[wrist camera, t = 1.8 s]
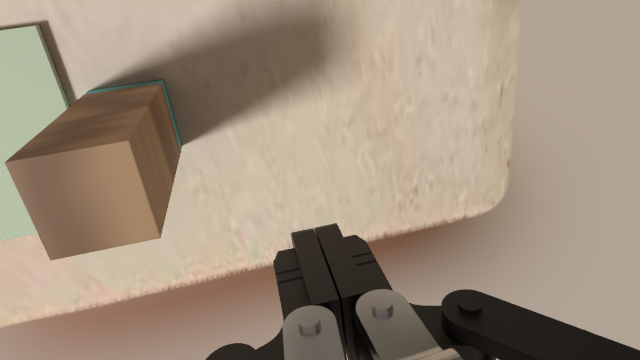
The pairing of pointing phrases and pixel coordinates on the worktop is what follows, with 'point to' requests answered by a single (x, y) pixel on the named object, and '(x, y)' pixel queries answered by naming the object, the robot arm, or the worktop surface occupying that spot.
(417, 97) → the worktop surface
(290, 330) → the robot arm
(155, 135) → the walnut block
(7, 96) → the sage mat
